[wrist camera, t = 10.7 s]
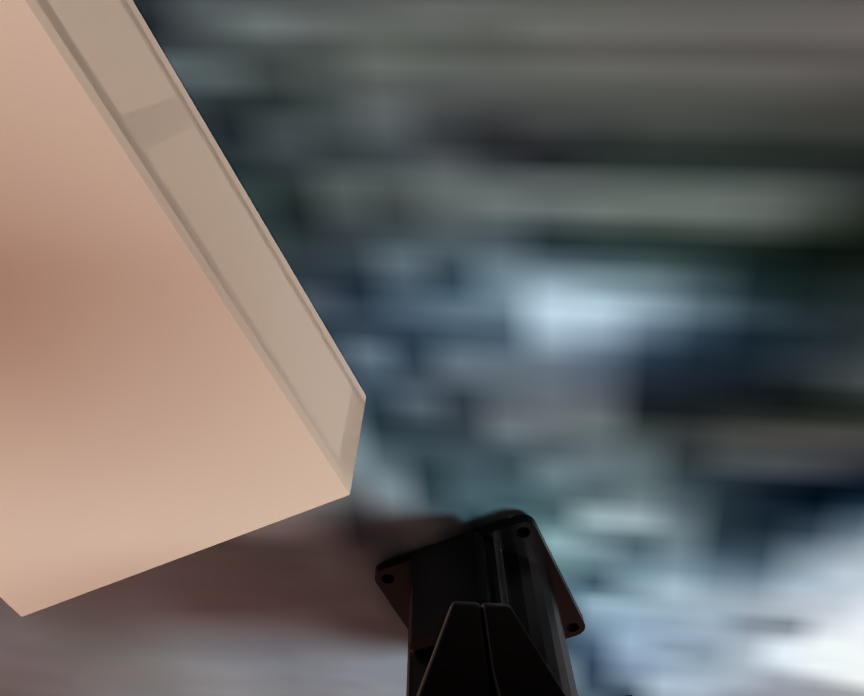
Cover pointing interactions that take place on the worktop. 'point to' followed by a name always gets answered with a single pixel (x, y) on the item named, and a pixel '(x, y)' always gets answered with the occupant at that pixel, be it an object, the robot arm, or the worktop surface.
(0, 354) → the cabinet
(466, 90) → the worktop surface
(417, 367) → the worktop surface
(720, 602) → the worktop surface
